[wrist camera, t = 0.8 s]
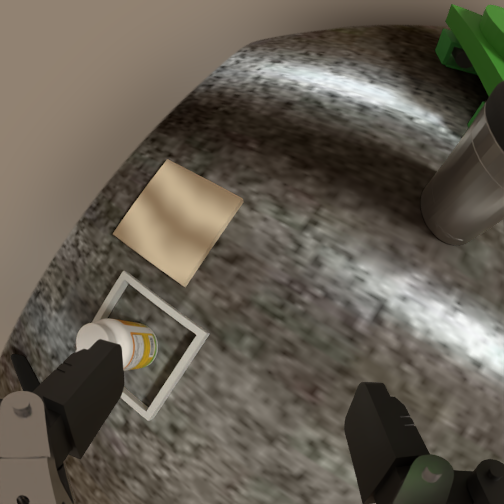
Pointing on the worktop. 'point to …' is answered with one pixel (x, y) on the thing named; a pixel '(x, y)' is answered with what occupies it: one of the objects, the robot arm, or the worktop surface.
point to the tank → (474, 45)
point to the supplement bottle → (122, 340)
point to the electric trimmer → (24, 373)
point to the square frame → (185, 321)
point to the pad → (177, 220)
